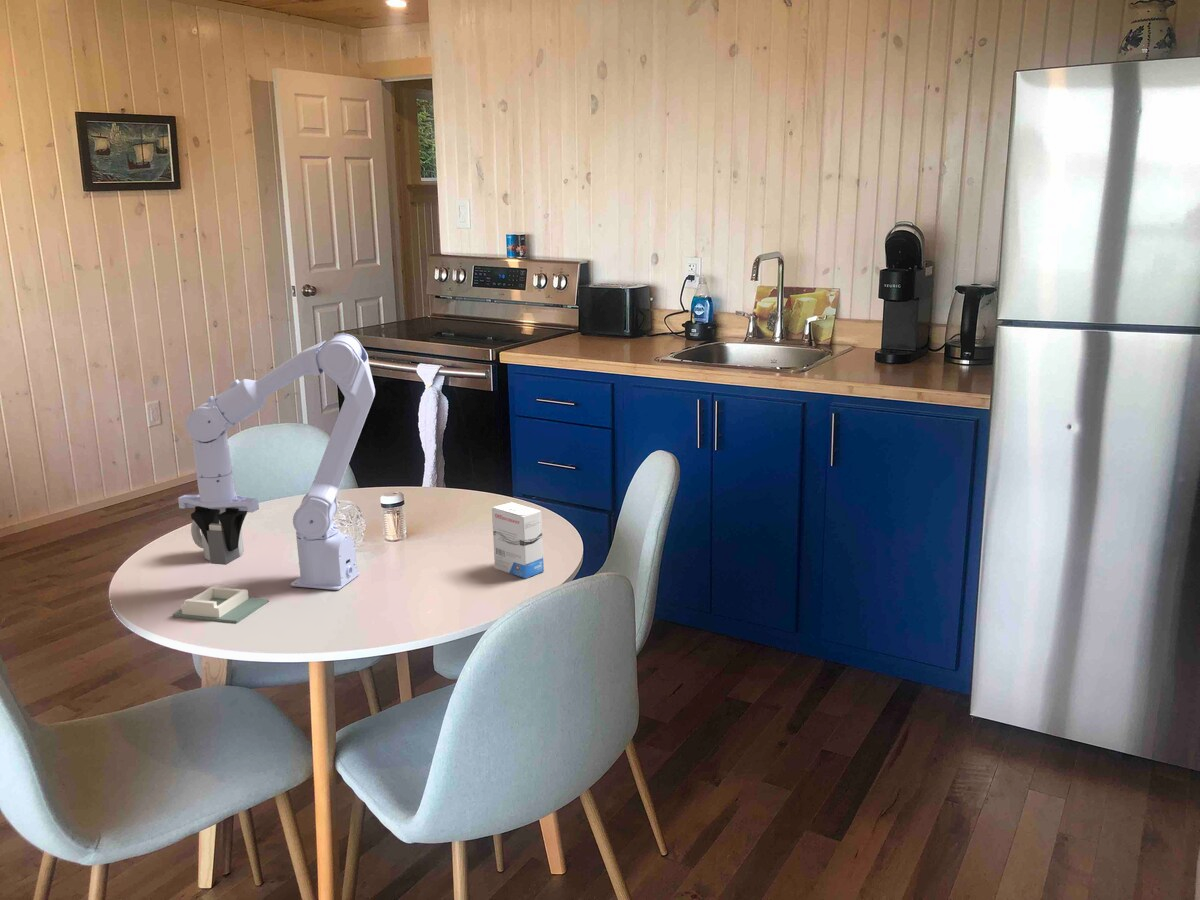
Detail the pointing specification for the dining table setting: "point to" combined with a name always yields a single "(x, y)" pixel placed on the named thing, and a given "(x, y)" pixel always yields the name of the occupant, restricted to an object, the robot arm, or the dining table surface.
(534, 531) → the ink box
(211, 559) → the plug
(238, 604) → the board
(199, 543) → the cup
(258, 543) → the dining table surface
